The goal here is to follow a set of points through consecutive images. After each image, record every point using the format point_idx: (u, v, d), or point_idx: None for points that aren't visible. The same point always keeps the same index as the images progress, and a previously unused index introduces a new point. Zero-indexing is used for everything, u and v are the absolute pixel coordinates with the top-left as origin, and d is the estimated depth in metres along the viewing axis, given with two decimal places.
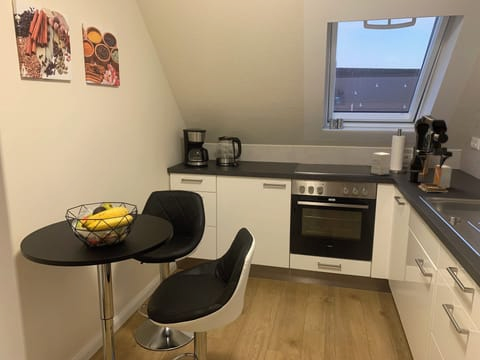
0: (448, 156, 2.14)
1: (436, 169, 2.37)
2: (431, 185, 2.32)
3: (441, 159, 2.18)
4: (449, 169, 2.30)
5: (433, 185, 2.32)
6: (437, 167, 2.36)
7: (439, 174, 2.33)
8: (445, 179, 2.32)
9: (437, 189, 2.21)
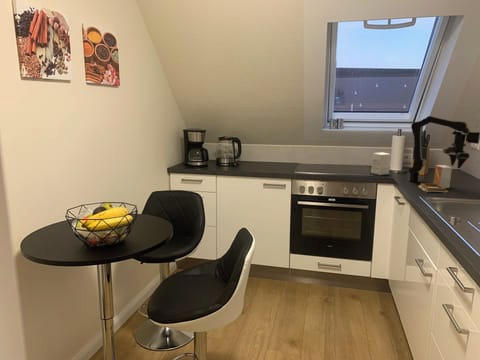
0: (457, 156, 2.25)
1: (436, 169, 2.37)
2: (431, 185, 2.32)
3: None
4: (449, 169, 2.30)
5: (433, 185, 2.32)
6: (437, 167, 2.36)
7: (439, 174, 2.33)
8: (445, 179, 2.32)
9: (437, 189, 2.21)
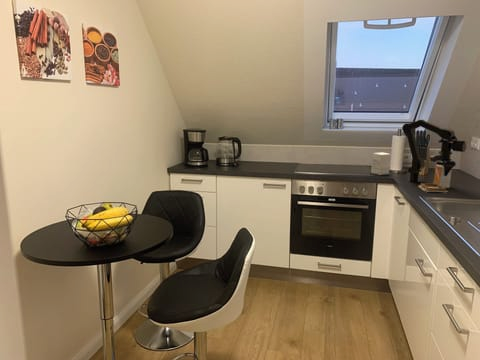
0: (443, 164, 2.27)
1: (436, 169, 2.37)
2: (431, 185, 2.32)
3: None
4: None
5: (433, 185, 2.32)
6: (437, 167, 2.36)
7: (439, 173, 2.33)
8: (445, 179, 2.32)
9: (437, 189, 2.21)
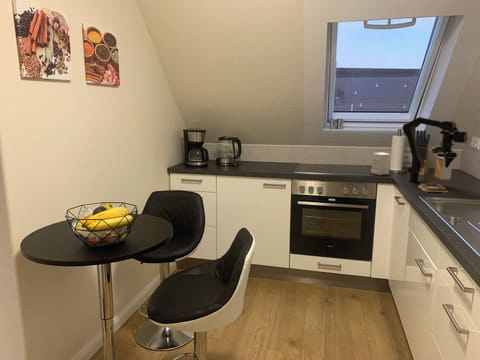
0: (444, 156, 2.26)
1: (437, 161, 2.36)
2: (431, 185, 2.32)
3: None
4: None
5: (433, 185, 2.32)
6: (438, 159, 2.34)
7: (440, 165, 2.32)
8: (446, 170, 2.31)
9: (437, 189, 2.21)
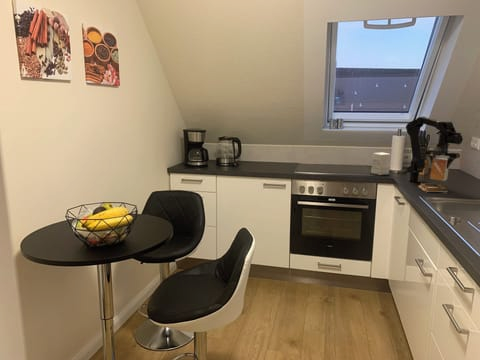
0: (451, 157, 2.21)
1: (435, 163, 2.29)
2: (431, 185, 2.32)
3: None
4: None
5: (433, 185, 2.32)
6: (436, 160, 2.28)
7: (441, 167, 2.26)
8: (446, 171, 2.28)
9: (437, 189, 2.21)
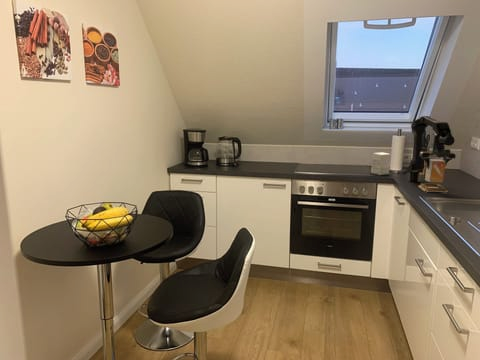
0: None
1: (434, 165, 2.21)
2: (431, 185, 2.32)
3: (444, 160, 2.23)
4: None
5: (433, 185, 2.32)
6: (436, 162, 2.21)
7: (441, 168, 2.22)
8: None
9: (437, 189, 2.21)
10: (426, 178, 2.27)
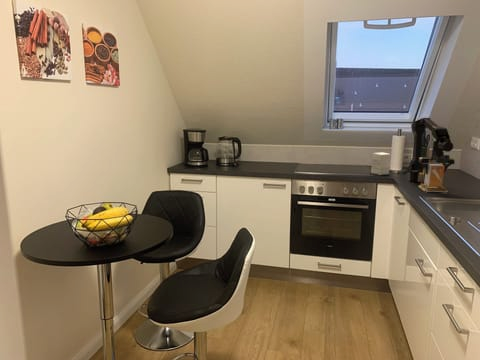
0: (450, 163, 2.20)
1: (433, 170, 2.22)
2: None
3: None
4: None
5: None
6: (435, 167, 2.21)
7: (440, 173, 2.22)
8: None
9: (437, 189, 2.21)
10: (425, 183, 2.28)
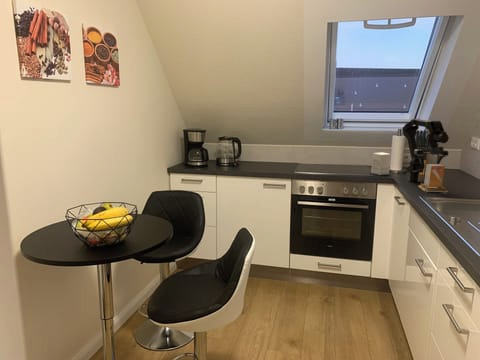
0: (444, 155, 2.29)
1: (433, 170, 2.22)
2: None
3: (438, 158, 2.33)
4: None
5: None
6: (435, 167, 2.21)
7: (440, 173, 2.22)
8: None
9: (437, 189, 2.21)
10: (425, 183, 2.28)
